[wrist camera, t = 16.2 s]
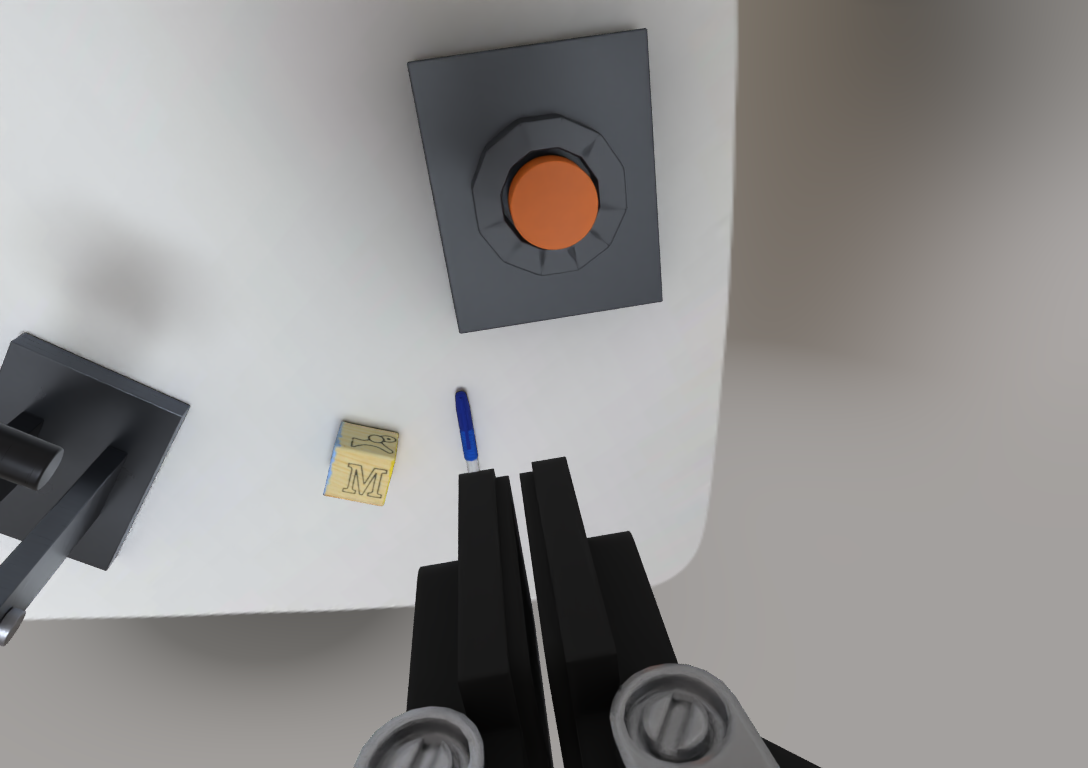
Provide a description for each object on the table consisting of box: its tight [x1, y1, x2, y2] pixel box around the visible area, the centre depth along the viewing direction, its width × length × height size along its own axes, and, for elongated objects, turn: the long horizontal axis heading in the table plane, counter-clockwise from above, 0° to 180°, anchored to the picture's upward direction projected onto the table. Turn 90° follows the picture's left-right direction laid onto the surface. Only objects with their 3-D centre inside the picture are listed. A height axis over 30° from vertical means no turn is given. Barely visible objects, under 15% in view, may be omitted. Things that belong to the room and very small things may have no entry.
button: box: [508, 155, 598, 250], centre depth 29 cm, size 4×4×2 cm
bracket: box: [0, 333, 190, 646], centre depth 31 cm, size 11×8×13 cm
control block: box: [407, 28, 663, 334], centre depth 32 cm, size 12×10×4 cm
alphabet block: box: [323, 422, 399, 506], centre depth 37 cm, size 3×3×3 cm
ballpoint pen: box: [455, 391, 479, 473], centre depth 39 cm, size 10×1×1 cm, turn 7°
